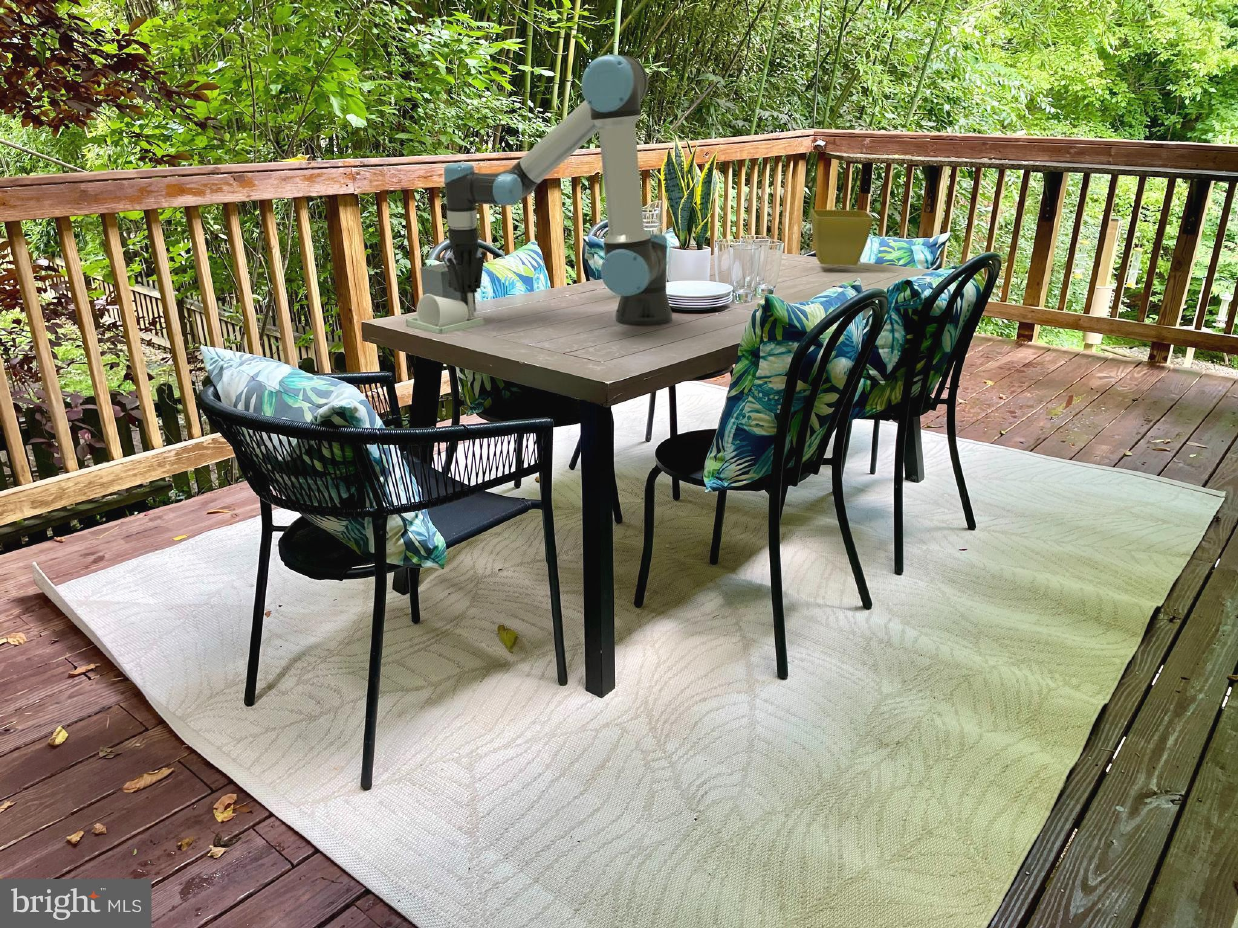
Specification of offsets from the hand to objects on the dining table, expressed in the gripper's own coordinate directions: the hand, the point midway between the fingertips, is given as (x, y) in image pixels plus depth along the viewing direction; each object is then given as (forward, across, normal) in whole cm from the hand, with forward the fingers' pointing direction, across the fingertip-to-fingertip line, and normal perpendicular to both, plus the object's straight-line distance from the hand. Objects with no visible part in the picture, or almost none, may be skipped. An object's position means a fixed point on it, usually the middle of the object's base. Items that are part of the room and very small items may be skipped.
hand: (469, 316), depth 239 cm
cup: (-2, +2, 0) cm, 3 cm away
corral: (+2, +8, +1) cm, 9 cm away
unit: (+2, -3, -12) cm, 13 cm away
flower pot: (+3, -140, +32) cm, 144 cm away
